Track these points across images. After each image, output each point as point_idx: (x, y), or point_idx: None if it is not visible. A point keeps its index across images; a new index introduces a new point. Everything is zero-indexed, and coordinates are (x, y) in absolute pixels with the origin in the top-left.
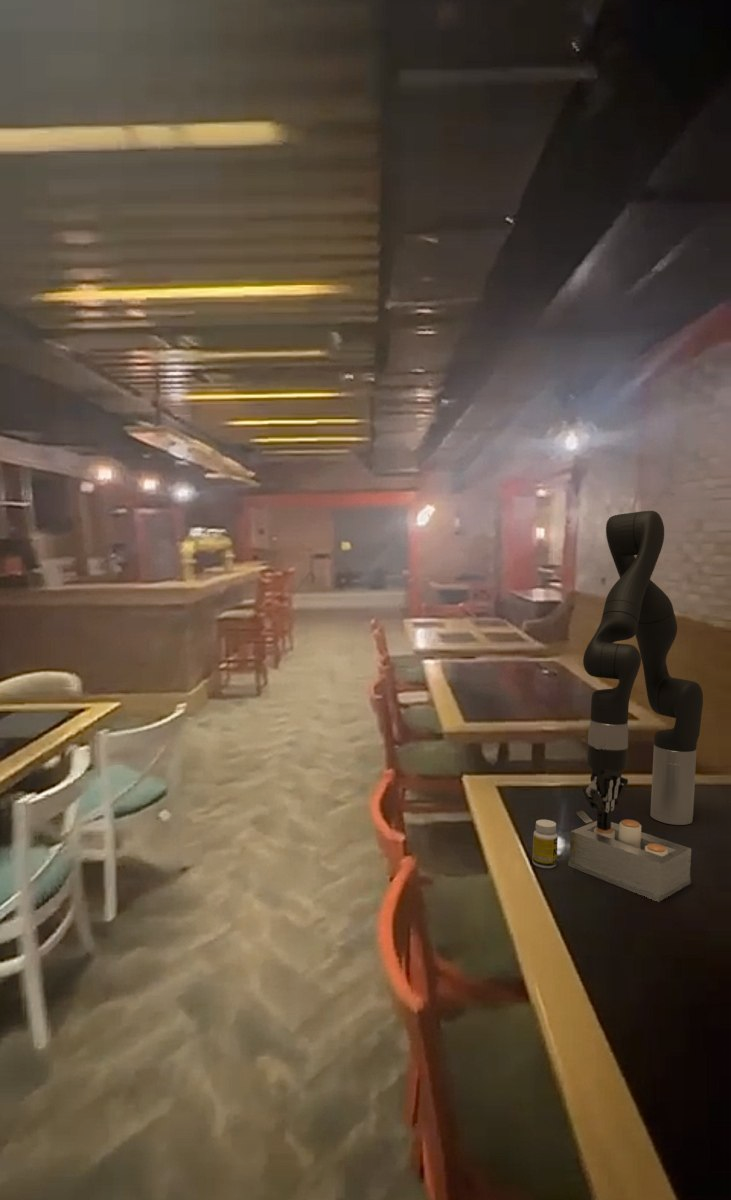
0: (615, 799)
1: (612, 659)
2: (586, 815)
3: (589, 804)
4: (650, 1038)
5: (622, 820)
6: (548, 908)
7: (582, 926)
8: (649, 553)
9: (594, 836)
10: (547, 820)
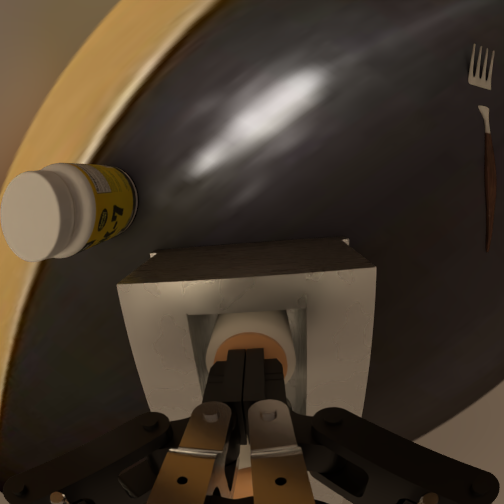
0: (322, 478)
1: None
2: (490, 68)
3: (116, 429)
4: None
5: (249, 474)
6: (11, 345)
7: (33, 404)
8: None
9: (163, 371)
10: (47, 196)
